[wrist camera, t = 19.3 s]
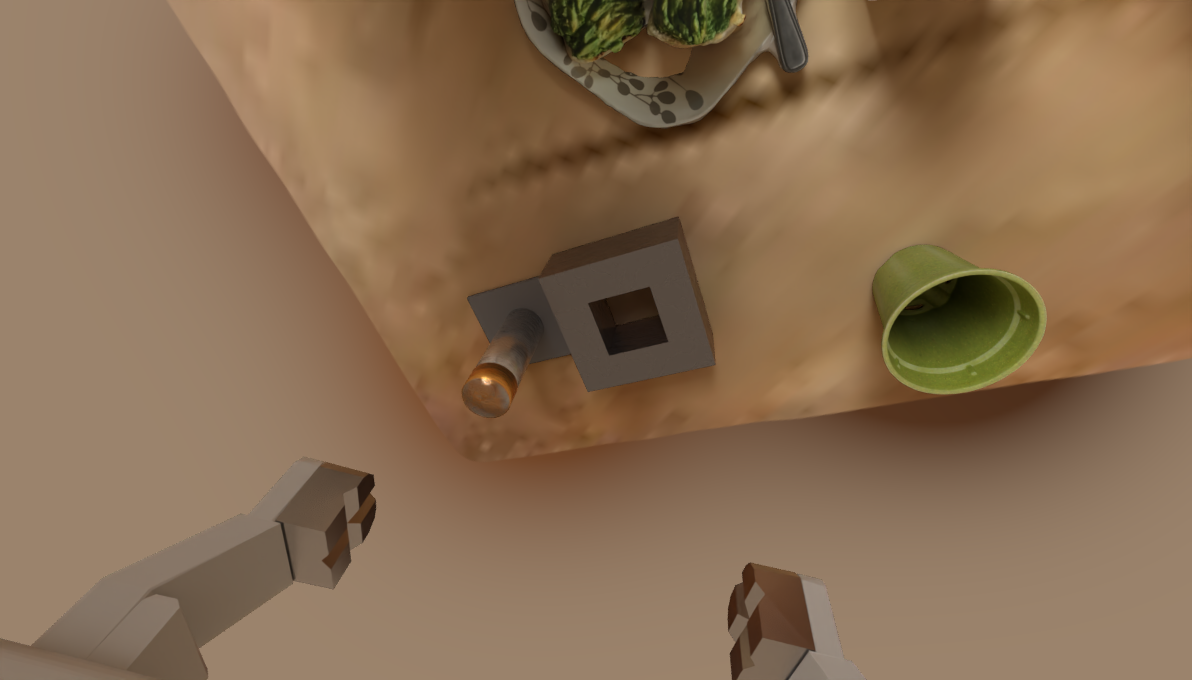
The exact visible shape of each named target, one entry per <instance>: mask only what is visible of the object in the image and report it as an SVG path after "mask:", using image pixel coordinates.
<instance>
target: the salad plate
mask: <svg viewBox="0 0 1192 680" xmlns="http://www.w3.org/2000/svg"><path fill="white" fill-rule="evenodd" d="M796 2H797V0H514V3H515V6H516V9H517V12H518V15H519V18H520V22H521V25H522V27H523V29H524V31H525V33H526V35H527V36H528V38H529V40H530V41H531V42H532V43H533V44H534V45H535V47H536V48H537V49H538V50H539V52H540V53H541V54H543V55H544V56H545V57H546V58H547V59H548V60H549V61H550V62H551V63H552V64H554V65H555V66H556V67H558V68H559V69H560V70H561V71H562V72H564V73H566V74H567V75H568V76H570V77H571V78H573V79H575V80H576V81H577V82H578V83H580V84H581V85H582V86H584V87H585V88H586V89H587V90H589V91H590V92H591V93H593V94H594V95H596V96H597V97H599V98H600V99H601V100H602V101H603V102H604V103H605V104H606V105H608V106H610V107H612V108H613V109H614V110H616V111H617V112H619V113H621V114H622V115H624V116H626V117H628V118H629V119H630V120H632V121H634V122H635V123H637V124H639V125H643V126H647V127H656V128H664V129H667V128H670V127H674V126H680V125H683V124H690V123H694V122H697V121H700V120H701V119H702V118H703V117H705V116H706V115H707V114H708V113H709V112H710V111H712V109H713V108H714V107H715V106H716V104H717V103H718V102H719V100H720V99H721V98H722V96H724V95H725V94H726V93H727V92H728V91H729V89H730V88H731V87H732V86H733V85H734V84H735V83H736V81H737V80H738V78H739V77H740V75H741V74H742V73H743V72H744V71H745V69H746V68H747V66H748V65H749V64H750V63H751V62H752V61H754V60H755V59H756V58H757V57H758V56H759V55H760V54H761V53H763V52H768V51H769V52H770V53H772V54H773V55H774V56H775V57H776V59H777V60H778V63H779V66H780V68H782V69H783V70H784V71H785V72H788V73H791V72H792V73H795V72H797V71H799V70H801V69H803V68H804V67H805V65H806V64H807V62H808V50H807V46H806V43H805V40H804V37H803V34H802V31H801V29H800V26H799V24H798V20H797V16H796ZM646 27H647V33H648V34H649V35H651V36H654V37H656V38H657V39H659V40H660V41H662V42H664V43H666V44H669V45H671V46H674V47H678V48H689V47H692V51H691V56H690V58H689V61H688V63H687V65H686V69H685V71H684V72H683V73H679V74H676V75H672V76H669V77H663V78H659V77H640V76H637V75H635V74H633V73H630V72H625V71H623V70H621V69H620V68H619V67H617V66H615V65H613V64H611V63H609V62H608V61H606V60H605V59H603V58H602V57H604V56H606V55H607V54H609V53H610V52H614V53H616V52H619V51H620V50H621V49H622V47H623V46H624V43H625V42H627V41H628V40H630V39H632V38H633V37H635V36H636V35H638V34H639V33H640V31H641V30H642V29H644V28H646Z"/></svg>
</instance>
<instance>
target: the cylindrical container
mask: <svg viewBox="0 0 1192 680" xmlns="http://www.w3.org/2000/svg"><path fill="white" fill-rule="evenodd" d="M543 330H544V327H543V322H542V320H541V318H540V317H539V316H538V315H537V314H536V313H535V312H533V311H531V310H529V309H525V308H518V309H515V310H512V311H511V312H510V313H509V314H508V315H507V317H506V318H505V320H504V322H503V323H502V325H501V327H500V328H499V330H498V331H497V333H496V335H495V336H494V338H493V340H492V341H491V343H490V345H489V346H488V348H487V350H486V351H485V353H484V355H483V356H482V358H481V360H480V361H479V363H478V364H477V366H476V368H475V369H474V370H473V371H472V373H471V375H470V376H469V378H468V380H467V381H466V383H465V385H464V386H463V389H462V398H463V401H464V403H465V405H466V406H467V407H468V408H469V409H470V410H471V411H472V412H474V413H475V414H477V415H479V416H482V417H486V418H496V417H500V416H502V415H504V414H505V413H506V412H507V411H508V409H509V407H510V405H511V403H512V401H513V398H514V396H515V394H516V392H517V388H518V386H519V384H520V382H521V379H522V377H523V375H524V373H525V371H526V369H527V366H528V364H529V362H530V360H531V358H532V355H533V353H534V351H535V349H536V347H537V345H538V342H539V340H540V338H541V336H542V334H543Z"/></svg>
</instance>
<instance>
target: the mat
mask: <svg viewBox="0 0 1192 680" xmlns="http://www.w3.org/2000/svg"><path fill="white" fill-rule="evenodd" d="M539 277H540V276H537V277H534V278H531V279H527V280H524V281H520V282H517V283H513V284H510V285H506V286H503V287H500V288H496V289H493V290H489V291H486V292H482V293H479V294H475V295H472V296H469V297H468V298H467V299H468V301H469V303H470V305H471V307H472V309H473V311H474V313H475V315H476V317H477V319H478V321H479V323H480V325H481V327H482V329H483V330H484V332H485V334H486V336H487V338H488V340H489V342H490V343H491V341H492V340H493V338H494V336H495V335H496V333H497V331H498V330H499V328H500V327H501V325H502V323H503V322H504V320H505V318H506V317H507V315H508V314H509V313H510V312H511V311H512V310H515V309H518V308H525V309H529V310H531V311H533V312H535V313H536V314H537V315H538V316H539V317H540V318H541V320H542V322H543V327H544V330H543V334H542V336H541V338H540V340H539V342H538V345H537V347H536V349H535V351H534V353H533V355H532V358H531V360H530V362H529V364H531V363H536V362H540V361H544V360H548V359H552V358H557V357H561V356H565V355H569V354H571V352H570V350H569V348H568V346H567V343H566V341H565V339H564V337H563V334H562V332H561V330H560V327H559V325H558V323H557V321H556V318H555V316H554V314H553V312H552V309H551V307H550V305H549V303H548V300H547V298H546V296H545V293H544V291H543V289H542V287H541V284H540V282H539V280H538V278H539Z"/></svg>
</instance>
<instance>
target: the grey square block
mask: <svg viewBox="0 0 1192 680" xmlns="http://www.w3.org/2000/svg"><path fill="white" fill-rule="evenodd" d="M538 280H539V282H540V284H541V287H542V289H543V291H544V293H545V296H546V298H547V300H548V303H549V305H550V307H551V309H552V312H553V314H554V316H555V318H556V321H557V323H558V325H559V327H560V330H561V332H562V334H563V337H564V339H565V341H566V343H567V346H568V348H569V350H570V352H571V355H572V357H573V359H574V362H575V364H576V366H577V368H578V371H579V373H580V375H581V377H582V380H583V382H584V384H585V387H586V389H587V391H588V392H590V391H595V390H600V389H604V388H609V387H614V386H619V385H623V384H628V383H633V382H637V381H642V380H647V379H651V378H656V377H661V376H665V375H670V374H675V373H680V372H684V371H689V370H694V369H698V368H703V367H708V366H712V365H715V352H714V340H713V332H712V329H711V325H710V322H709V318H708V315H707V312H706V308H705V305H704V301H703V298H702V294H701V291H700V288H699V284H698V281H697V277H696V274H695V270H694V267H693V264H692V260H691V257H690V253H689V250H688V246H687V243H686V240H685V236H684V233H683V229H682V226H681V223H680V219H679V217H676V218H672V219H669V220H666V221H662V222H659V223H656V224H652V225H649V226H646V227H642V228H639V229H636V230H632V231H629V232H626V233H622V234H619V235H616V236H612V237H609V238H606V239H602V240H599V241H596V242H592V243H589V244H586V245H582V246H579V247H576V248H572V249H569V250H566V251H562V252H559V253H556V254H552V256H551V257H550V259H549V261H548V263H547V264H546V266H545V268H544V270H543V271H542V273H541V275H540V277H539V278H538ZM646 287H650V289H651V292H652V295H653V298H654V301H655V304H656V307H657V310H658V313H659V315H658V316H654V317H650V318H646V319H642V320H638V321H634V322H630V323H626V324H622V325H618V326H616V325H615V322H614V319H613V317H612V314H611V312H610V309H609V306H608V304H607V301H606V299H605V298H609V297H613V296H616V295H620V294H624V293H628V292H631V291H635V290H639V289H643V288H646Z"/></svg>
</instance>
